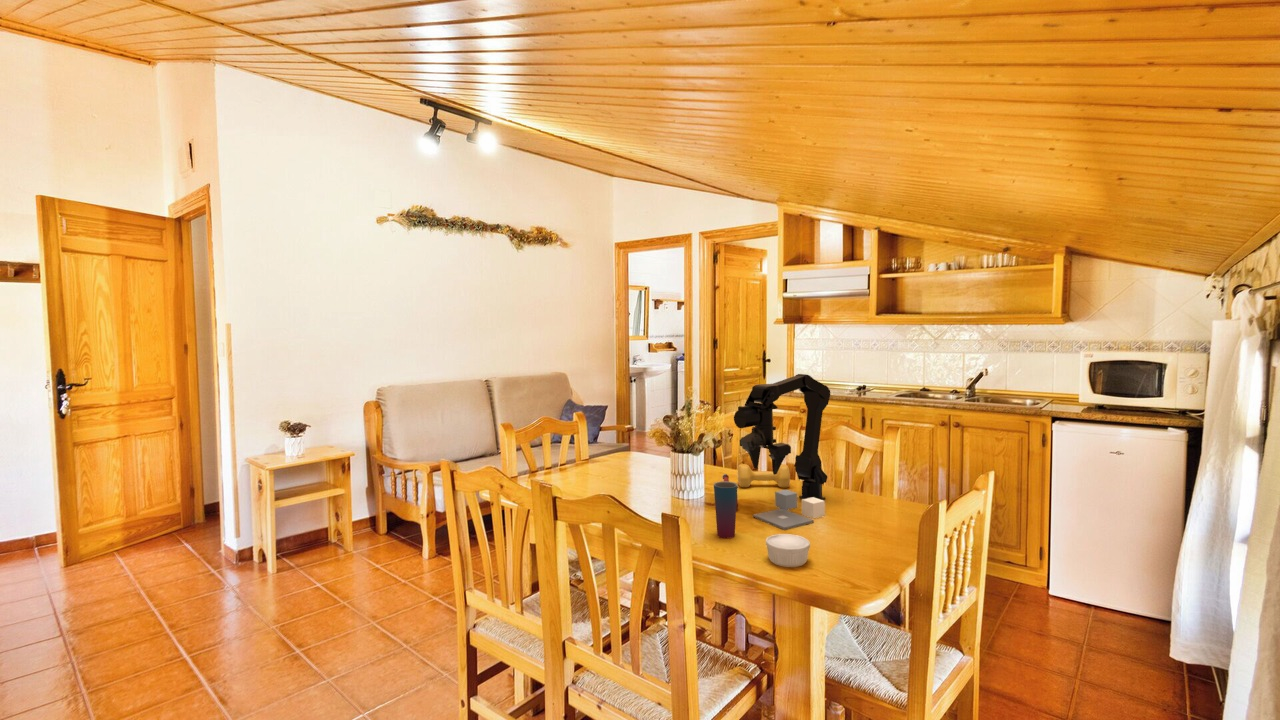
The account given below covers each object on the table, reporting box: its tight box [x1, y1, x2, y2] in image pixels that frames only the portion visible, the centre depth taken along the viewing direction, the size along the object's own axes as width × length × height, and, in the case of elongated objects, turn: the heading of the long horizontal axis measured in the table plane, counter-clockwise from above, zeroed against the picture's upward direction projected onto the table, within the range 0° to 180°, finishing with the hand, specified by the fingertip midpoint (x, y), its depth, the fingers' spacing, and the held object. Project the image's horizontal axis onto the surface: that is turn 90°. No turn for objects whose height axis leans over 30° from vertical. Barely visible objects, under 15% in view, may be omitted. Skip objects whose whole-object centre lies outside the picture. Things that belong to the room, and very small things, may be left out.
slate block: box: [774, 489, 798, 511], centre depth 202 cm, size 5×5×5 cm
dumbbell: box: [737, 463, 791, 489], centre depth 227 cm, size 19×9×8 cm, turn 84°
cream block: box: [801, 497, 826, 520], centre depth 193 cm, size 5×5×5 cm
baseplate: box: [752, 508, 815, 531], centre depth 189 cm, size 12×14×1 cm
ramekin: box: [765, 533, 811, 568], centre depth 158 cm, size 11×11×5 cm
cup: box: [713, 480, 739, 539], centre depth 176 cm, size 7×7×15 cm
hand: (765, 471), depth 198 cm, fingers open, 9 cm apart
